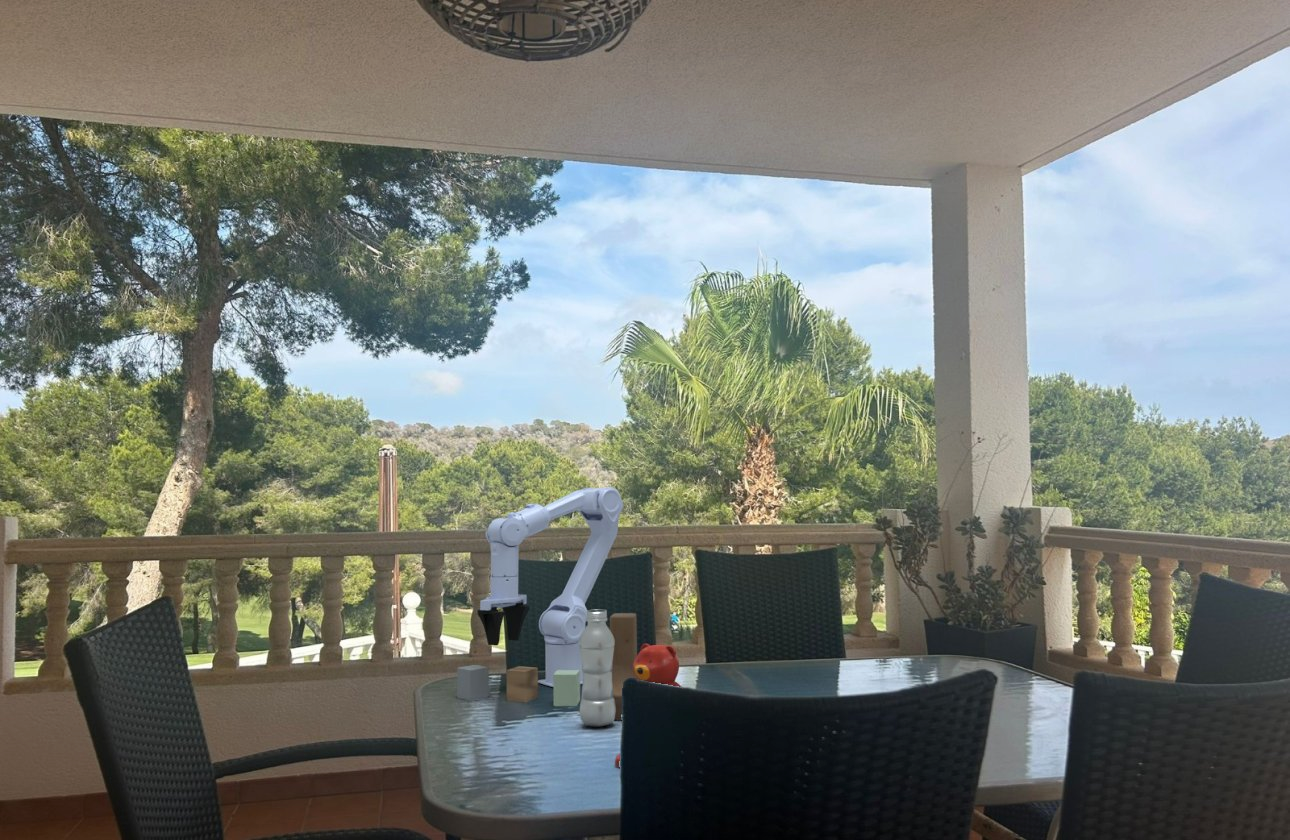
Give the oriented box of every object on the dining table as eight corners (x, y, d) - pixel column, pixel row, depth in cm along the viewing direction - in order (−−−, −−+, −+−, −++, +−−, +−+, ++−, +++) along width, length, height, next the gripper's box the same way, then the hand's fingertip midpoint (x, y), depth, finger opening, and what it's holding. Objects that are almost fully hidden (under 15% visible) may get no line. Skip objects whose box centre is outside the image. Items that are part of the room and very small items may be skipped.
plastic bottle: (618, 721, 167) (617, 608, 169) (613, 730, 161) (612, 613, 162) (583, 721, 168) (581, 608, 170) (576, 730, 161) (575, 613, 163)
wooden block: (631, 721, 167) (629, 619, 169) (606, 720, 168) (605, 619, 169) (638, 709, 176) (636, 612, 178) (614, 709, 177) (613, 612, 178)
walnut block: (518, 696, 190) (518, 666, 190) (537, 697, 188) (537, 667, 188) (506, 700, 186) (506, 670, 186) (526, 702, 184) (525, 671, 184)
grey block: (475, 694, 192) (475, 664, 193) (488, 697, 189) (488, 667, 190) (457, 697, 189) (457, 667, 190) (470, 701, 186) (470, 670, 187)
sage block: (557, 701, 185) (557, 670, 185) (580, 701, 185) (579, 670, 185) (553, 706, 180) (553, 674, 181) (576, 706, 180) (576, 674, 181)
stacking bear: (608, 765, 140) (607, 645, 141) (656, 752, 147) (654, 637, 148) (660, 780, 132) (658, 653, 134) (707, 765, 139) (705, 644, 141)
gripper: (507, 573, 203) (506, 637, 201) (468, 577, 189) (466, 645, 188) (535, 574, 200) (534, 638, 198) (497, 578, 186) (496, 648, 185)
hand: (503, 642), depth 193 cm, fingers open, 7 cm apart
